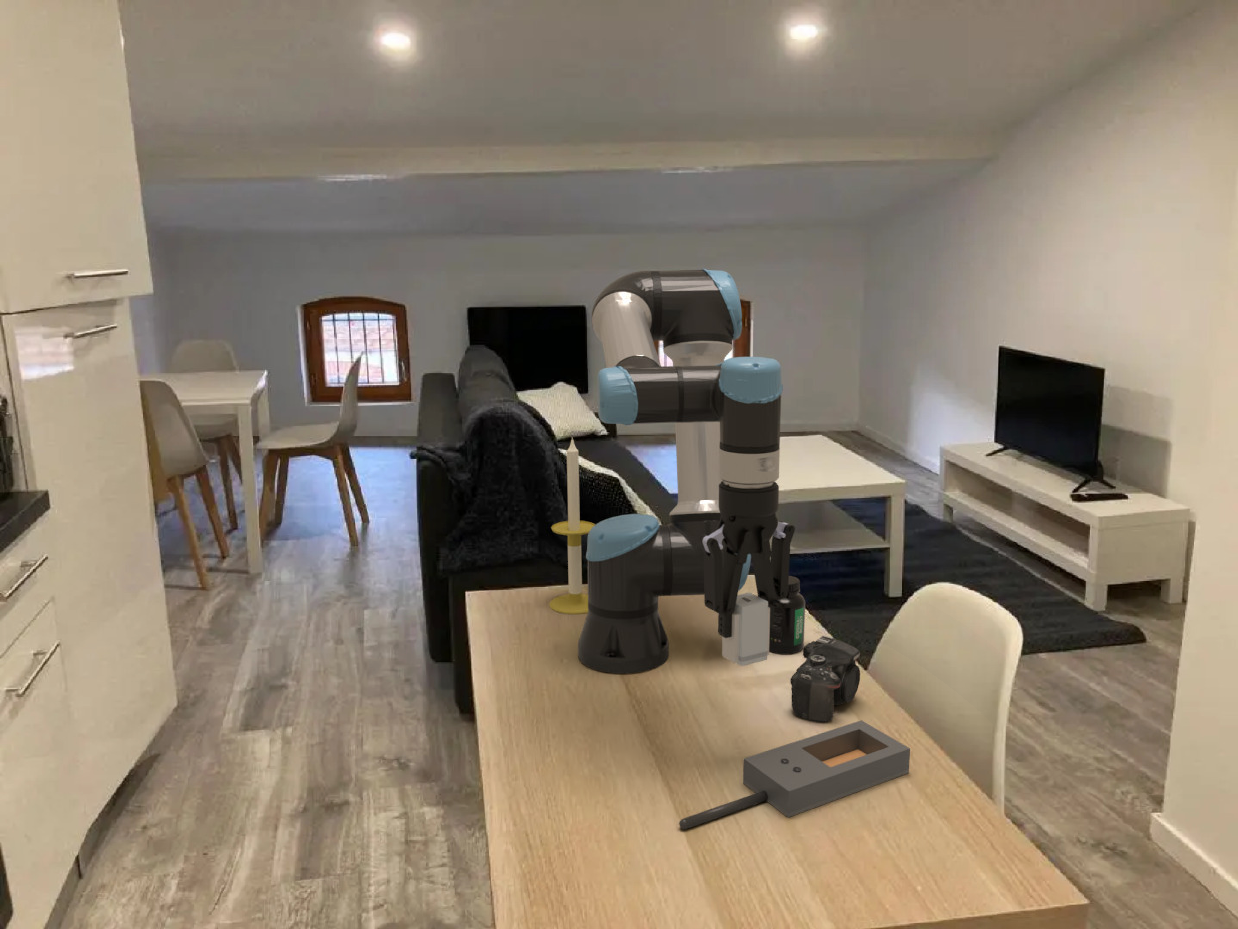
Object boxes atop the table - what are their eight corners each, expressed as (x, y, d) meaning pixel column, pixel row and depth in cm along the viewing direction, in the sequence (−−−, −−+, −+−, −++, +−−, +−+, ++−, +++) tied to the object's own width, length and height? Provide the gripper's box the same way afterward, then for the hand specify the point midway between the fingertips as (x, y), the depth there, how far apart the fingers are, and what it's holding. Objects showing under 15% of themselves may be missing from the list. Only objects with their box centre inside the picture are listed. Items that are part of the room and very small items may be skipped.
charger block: (723, 655, 133) (724, 597, 131) (748, 649, 135) (749, 591, 133) (741, 666, 129) (742, 606, 127) (767, 659, 131) (768, 601, 129)
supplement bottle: (809, 653, 168) (811, 585, 166) (769, 656, 167) (771, 588, 165) (796, 637, 175) (798, 572, 172) (758, 640, 174) (759, 574, 171)
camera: (859, 728, 143) (862, 662, 141) (788, 721, 145) (790, 656, 143) (858, 687, 156) (861, 627, 154) (793, 681, 158) (795, 622, 156)
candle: (612, 603, 192) (610, 436, 184) (575, 618, 185) (571, 445, 177) (576, 591, 198) (573, 429, 191) (538, 605, 191) (533, 437, 184)
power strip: (701, 849, 115) (701, 821, 115) (659, 811, 123) (659, 784, 122) (908, 773, 131) (910, 747, 130) (860, 743, 139) (861, 719, 138)
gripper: (708, 496, 120) (706, 679, 125) (821, 479, 128) (815, 652, 133) (675, 483, 126) (674, 658, 131) (784, 467, 134) (780, 633, 139)
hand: (745, 654), depth 132 cm, fingers closed on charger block, 4 cm apart
